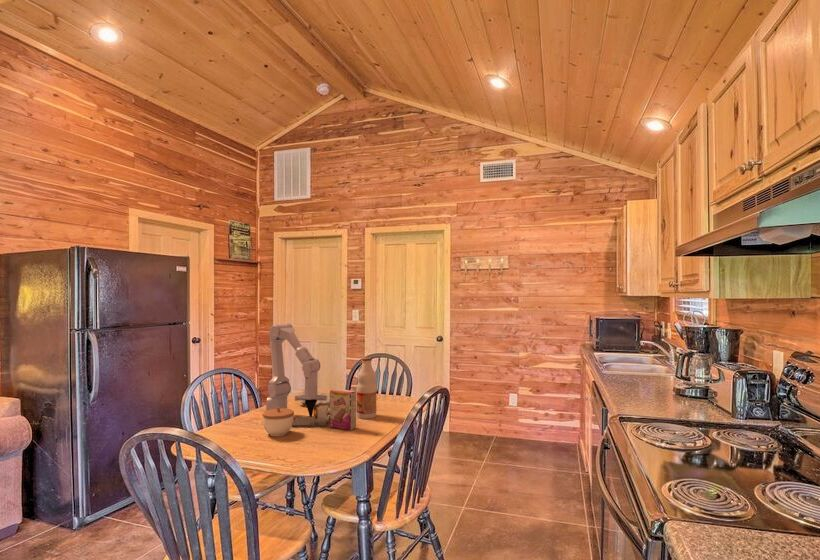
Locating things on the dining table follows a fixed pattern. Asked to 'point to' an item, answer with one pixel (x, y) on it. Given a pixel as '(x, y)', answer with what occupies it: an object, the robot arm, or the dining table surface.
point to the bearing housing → (313, 419)
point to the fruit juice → (366, 390)
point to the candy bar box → (343, 409)
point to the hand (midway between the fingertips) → (310, 416)
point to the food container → (319, 402)
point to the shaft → (317, 412)
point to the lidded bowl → (278, 421)
